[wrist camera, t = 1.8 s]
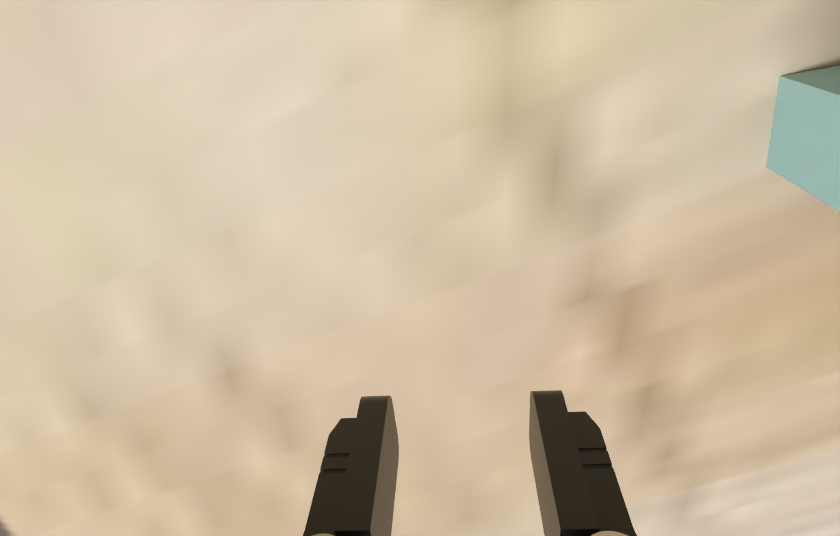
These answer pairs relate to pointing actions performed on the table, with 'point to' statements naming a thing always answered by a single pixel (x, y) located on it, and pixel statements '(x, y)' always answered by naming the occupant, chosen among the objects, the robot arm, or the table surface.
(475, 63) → the table surface
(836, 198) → the block
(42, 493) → the table surface
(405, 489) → the table surface
